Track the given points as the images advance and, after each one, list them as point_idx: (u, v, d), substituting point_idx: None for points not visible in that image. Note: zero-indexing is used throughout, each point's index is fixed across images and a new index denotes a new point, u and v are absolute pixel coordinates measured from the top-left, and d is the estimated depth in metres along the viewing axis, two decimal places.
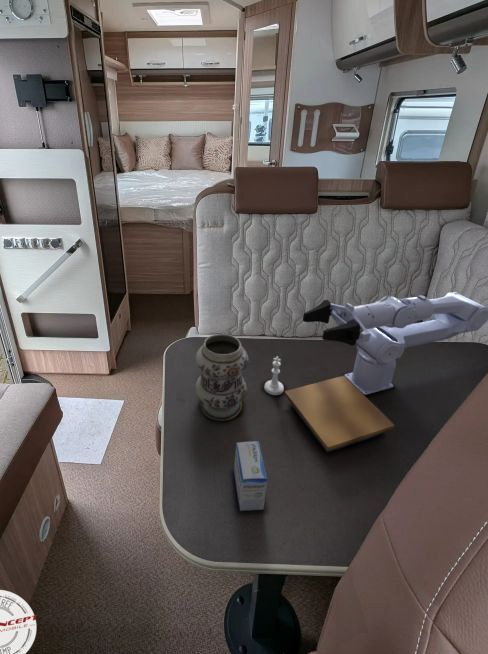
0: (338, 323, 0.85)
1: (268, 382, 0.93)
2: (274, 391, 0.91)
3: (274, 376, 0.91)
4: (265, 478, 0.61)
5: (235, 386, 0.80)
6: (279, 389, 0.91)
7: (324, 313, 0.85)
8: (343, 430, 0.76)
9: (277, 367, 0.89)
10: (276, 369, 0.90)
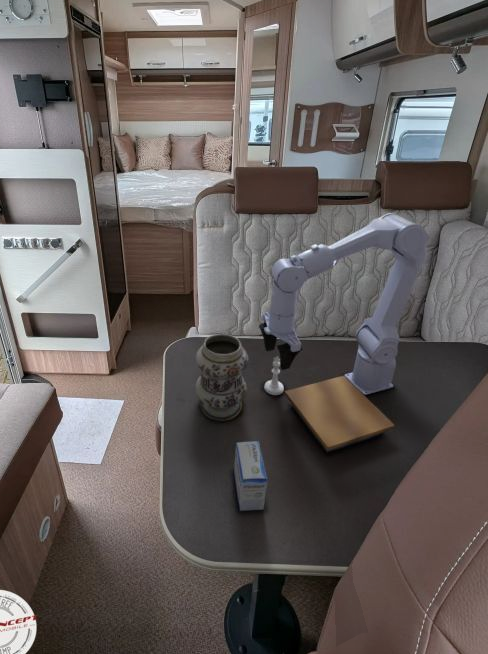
0: None
1: (268, 382, 0.93)
2: (274, 391, 0.91)
3: (274, 376, 0.91)
4: (265, 478, 0.61)
5: (235, 386, 0.80)
6: (279, 389, 0.91)
7: None
8: (343, 430, 0.76)
9: (277, 367, 0.89)
10: (276, 369, 0.90)
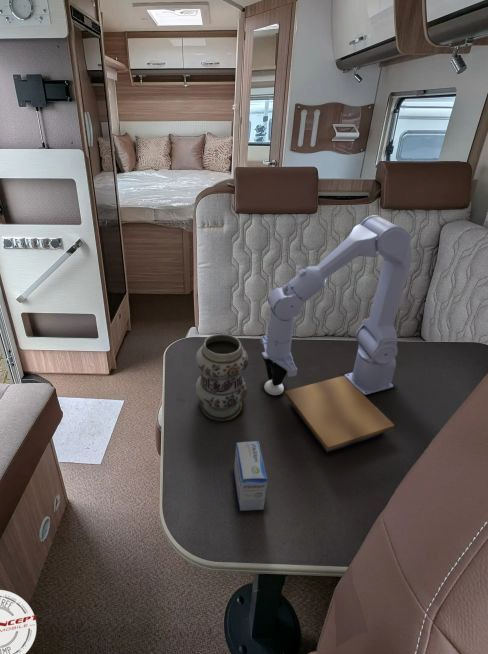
0: None
1: (268, 382, 0.93)
2: (274, 391, 0.91)
3: None
4: (265, 478, 0.61)
5: (235, 386, 0.80)
6: (279, 389, 0.91)
7: (273, 361, 0.90)
8: (343, 430, 0.76)
9: None
10: None
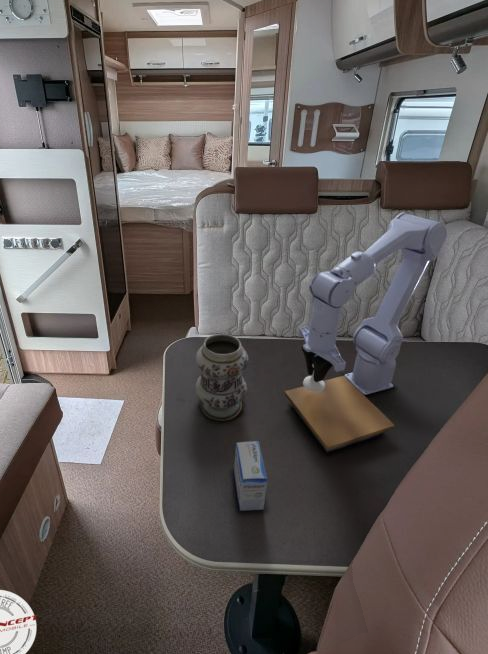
0: None
1: (307, 378, 0.85)
2: (315, 388, 0.82)
3: None
4: (265, 478, 0.61)
5: (235, 386, 0.80)
6: (320, 386, 0.82)
7: (314, 355, 0.82)
8: (343, 430, 0.76)
9: None
10: None
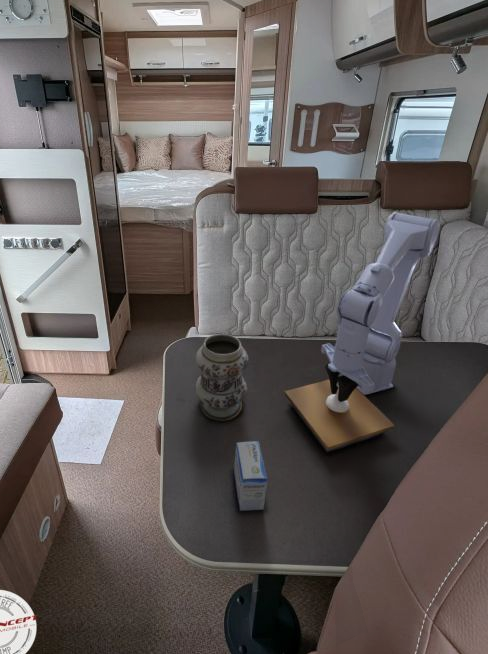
0: None
1: (330, 397, 0.82)
2: (339, 408, 0.79)
3: None
4: (265, 478, 0.61)
5: (235, 386, 0.80)
6: (345, 406, 0.80)
7: None
8: (343, 430, 0.76)
9: None
10: None
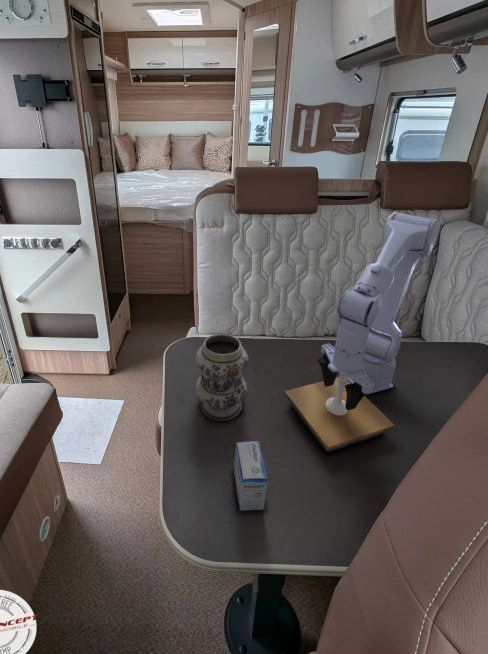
0: None
1: (330, 400, 0.82)
2: (339, 411, 0.80)
3: (339, 394, 0.80)
4: (265, 478, 0.61)
5: (235, 386, 0.80)
6: (344, 409, 0.80)
7: None
8: (343, 430, 0.76)
9: (344, 384, 0.78)
10: (342, 386, 0.78)
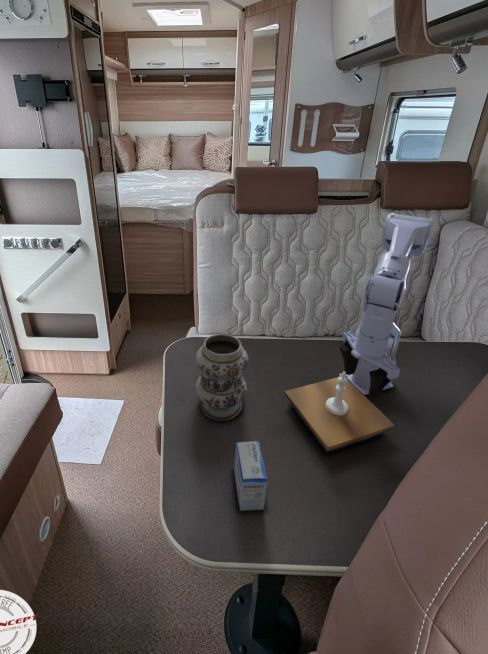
0: None
1: (330, 400, 0.82)
2: (339, 411, 0.80)
3: (339, 394, 0.80)
4: (265, 478, 0.61)
5: (235, 386, 0.80)
6: (344, 409, 0.80)
7: (353, 354, 0.80)
8: (343, 430, 0.76)
9: (344, 384, 0.78)
10: (342, 386, 0.78)
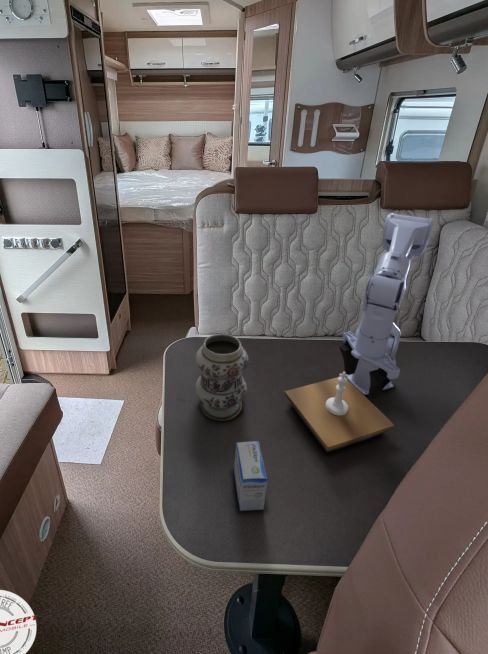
0: None
1: (330, 400, 0.82)
2: (339, 411, 0.80)
3: (339, 394, 0.80)
4: (265, 478, 0.61)
5: (235, 386, 0.80)
6: (344, 409, 0.80)
7: (353, 354, 0.80)
8: (343, 430, 0.76)
9: (344, 384, 0.78)
10: (342, 386, 0.78)
